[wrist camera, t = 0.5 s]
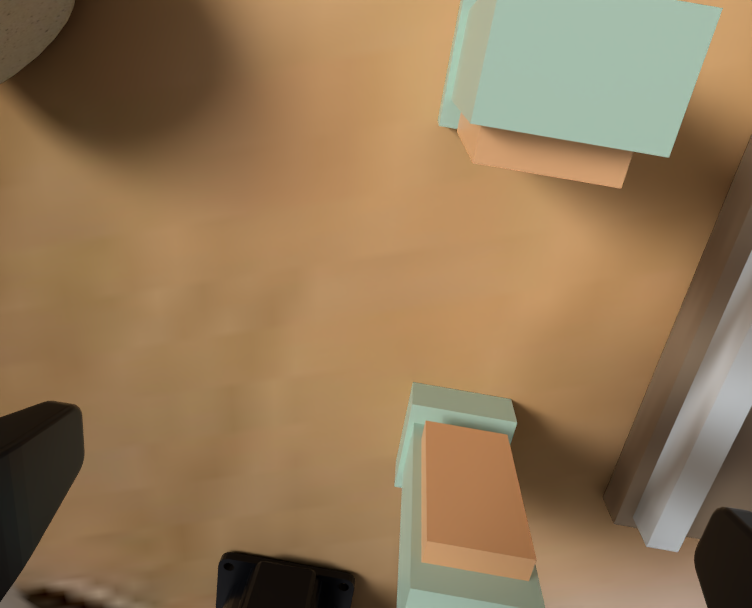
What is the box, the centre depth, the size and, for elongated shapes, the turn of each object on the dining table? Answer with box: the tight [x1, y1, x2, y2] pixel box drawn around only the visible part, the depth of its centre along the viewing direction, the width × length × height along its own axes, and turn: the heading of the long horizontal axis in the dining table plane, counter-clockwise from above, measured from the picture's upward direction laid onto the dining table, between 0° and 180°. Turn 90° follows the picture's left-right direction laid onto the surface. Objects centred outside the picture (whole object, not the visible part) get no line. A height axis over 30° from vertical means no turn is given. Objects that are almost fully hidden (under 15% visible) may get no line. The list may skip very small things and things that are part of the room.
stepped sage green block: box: [395, 382, 545, 608], centre depth 19 cm, size 4×4×9 cm
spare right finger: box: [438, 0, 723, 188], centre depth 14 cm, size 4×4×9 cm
